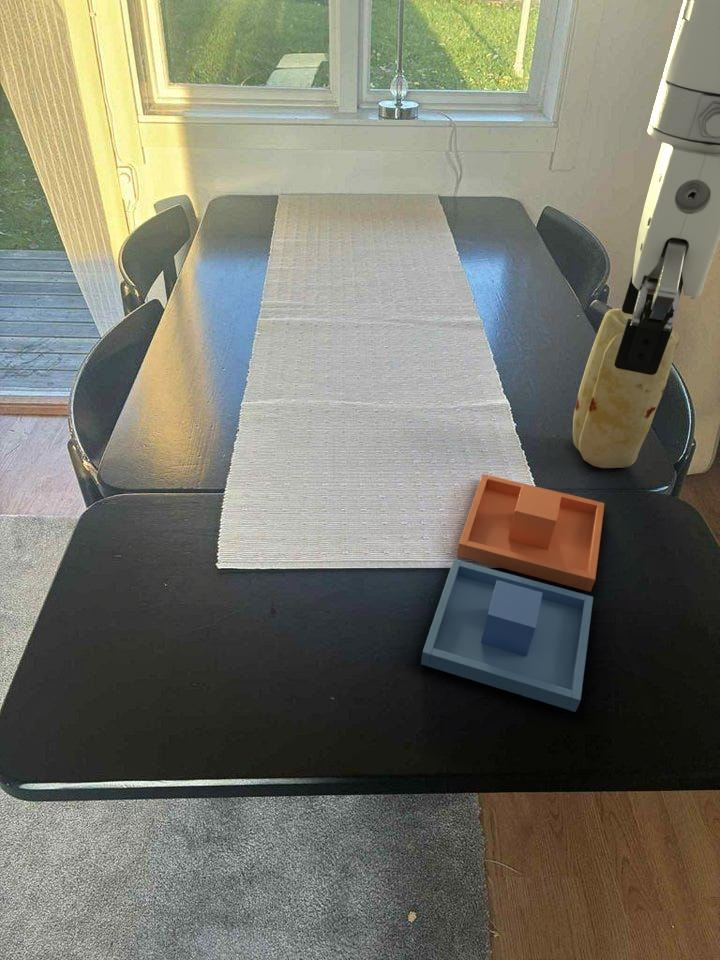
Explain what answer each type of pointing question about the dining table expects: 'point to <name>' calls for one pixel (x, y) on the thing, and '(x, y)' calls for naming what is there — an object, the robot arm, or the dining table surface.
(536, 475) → the dining table surface
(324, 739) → the dining table surface
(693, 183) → the robot arm
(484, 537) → the terracotta tray
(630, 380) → the food model
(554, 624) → the blue tray
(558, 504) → the terracotta block
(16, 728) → the dining table surface
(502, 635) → the blue block
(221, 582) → the dining table surface
